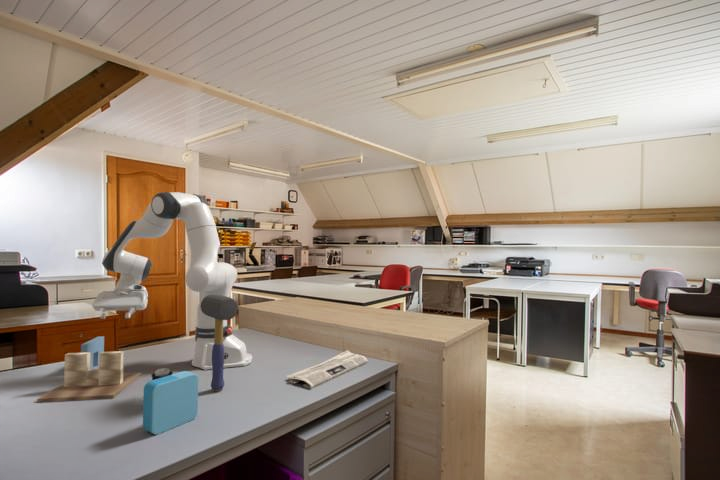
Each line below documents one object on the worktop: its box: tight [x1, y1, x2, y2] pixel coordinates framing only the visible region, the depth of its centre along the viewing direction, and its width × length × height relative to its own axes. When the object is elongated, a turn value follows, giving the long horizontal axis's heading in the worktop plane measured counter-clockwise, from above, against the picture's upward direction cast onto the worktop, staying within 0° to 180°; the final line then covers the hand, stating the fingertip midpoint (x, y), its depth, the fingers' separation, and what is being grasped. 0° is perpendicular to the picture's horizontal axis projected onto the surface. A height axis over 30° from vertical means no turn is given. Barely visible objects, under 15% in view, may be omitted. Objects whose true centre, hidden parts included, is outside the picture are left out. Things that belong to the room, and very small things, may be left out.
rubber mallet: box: [200, 295, 239, 392], centre depth 118 cm, size 12×8×30 cm, turn 49°
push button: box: [150, 367, 174, 381], centre depth 105 cm, size 7×5×10 cm
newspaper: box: [286, 349, 369, 390], centre depth 137 cm, size 35×12×4 cm, turn 146°
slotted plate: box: [80, 335, 105, 369], centre depth 138 cm, size 12×2×10 cm, turn 10°
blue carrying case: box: [142, 370, 199, 436], centre depth 95 cm, size 12×4×12 cm, turn 147°
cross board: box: [36, 350, 142, 403], centre depth 119 cm, size 20×20×11 cm
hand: (114, 317), depth 155 cm, fingers open, 8 cm apart
